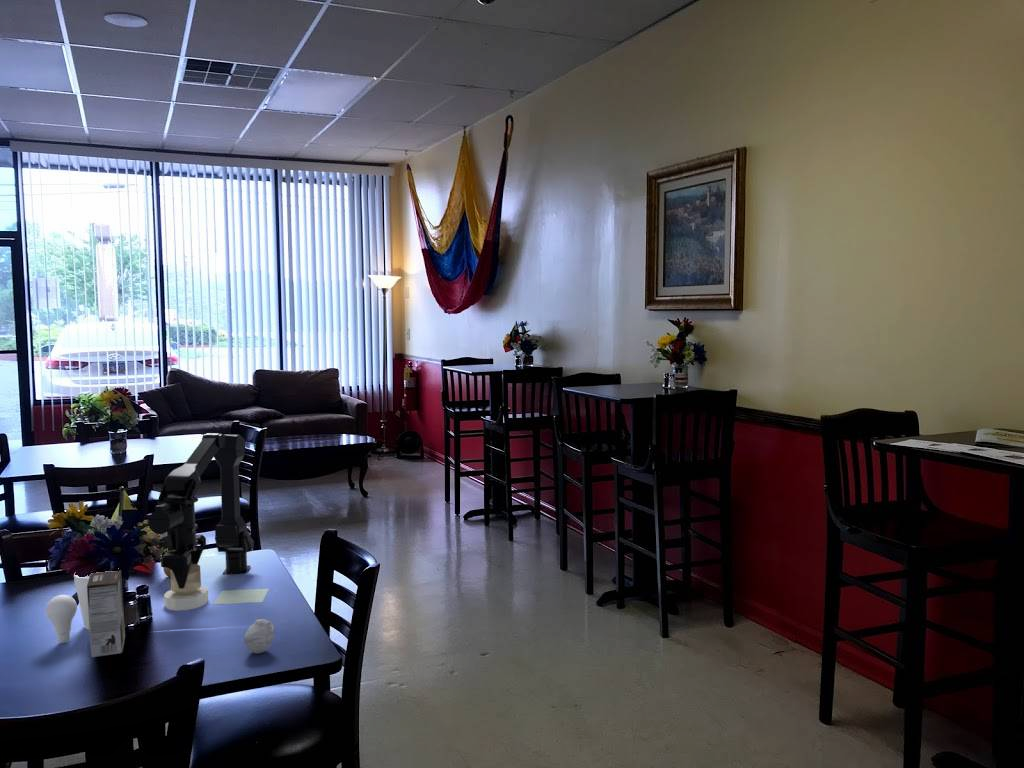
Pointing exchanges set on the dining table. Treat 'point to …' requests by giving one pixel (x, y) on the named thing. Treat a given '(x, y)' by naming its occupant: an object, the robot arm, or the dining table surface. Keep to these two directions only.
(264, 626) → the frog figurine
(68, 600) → the lightbulb
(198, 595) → the bowl
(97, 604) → the coffee box
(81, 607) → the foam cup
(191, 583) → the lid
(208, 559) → the dining table surface
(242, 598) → the mat
